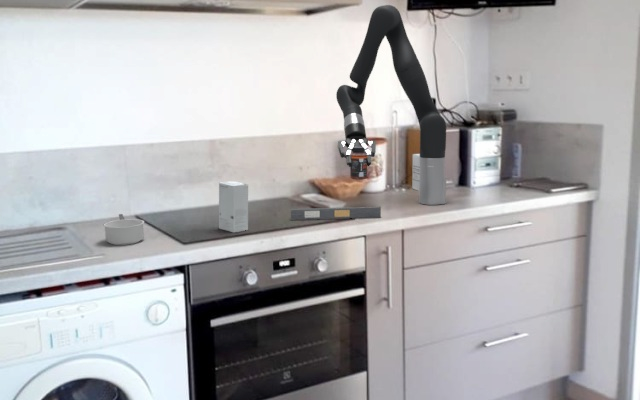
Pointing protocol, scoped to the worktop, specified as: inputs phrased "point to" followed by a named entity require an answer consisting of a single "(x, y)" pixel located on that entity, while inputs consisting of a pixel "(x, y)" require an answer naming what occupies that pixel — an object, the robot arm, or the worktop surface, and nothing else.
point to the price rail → (335, 213)
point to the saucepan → (124, 231)
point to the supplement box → (415, 171)
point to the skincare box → (233, 206)
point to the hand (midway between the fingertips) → (359, 165)
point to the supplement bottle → (358, 164)
